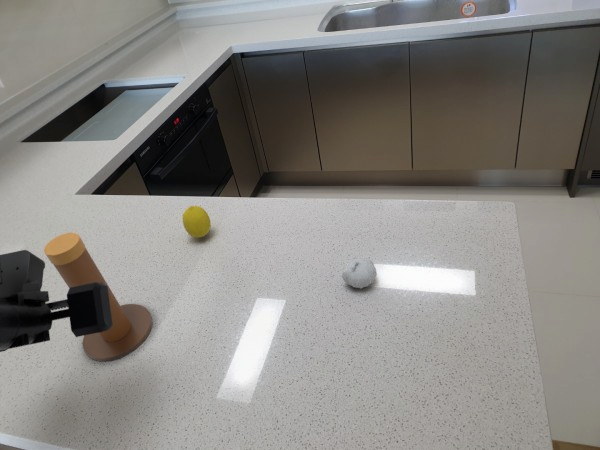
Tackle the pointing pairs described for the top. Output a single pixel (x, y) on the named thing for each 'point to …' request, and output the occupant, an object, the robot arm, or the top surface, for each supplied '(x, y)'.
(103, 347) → the round brown plate
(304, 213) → the top surface
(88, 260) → the orange cylinder
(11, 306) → the robot arm
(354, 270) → the garlic
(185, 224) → the lemon
